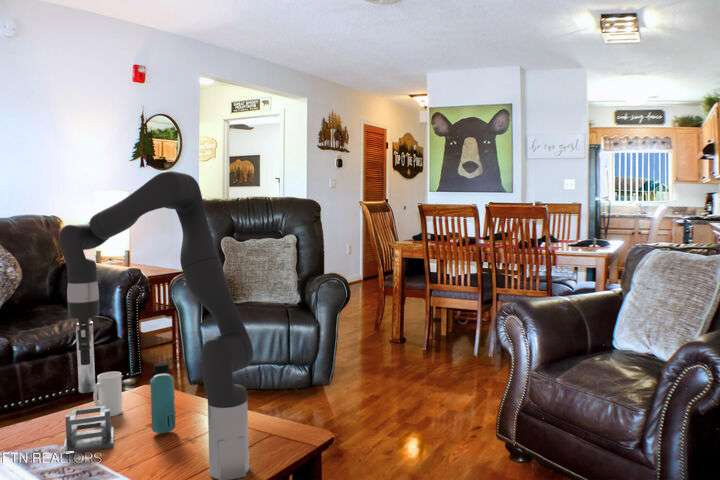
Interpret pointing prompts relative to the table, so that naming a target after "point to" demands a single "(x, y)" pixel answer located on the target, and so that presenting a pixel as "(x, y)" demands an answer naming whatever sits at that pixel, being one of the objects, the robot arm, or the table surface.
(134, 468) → the table surface
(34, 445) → the table surface
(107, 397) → the mug
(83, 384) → the steel tube
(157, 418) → the beverage bottle
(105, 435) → the collar stand
